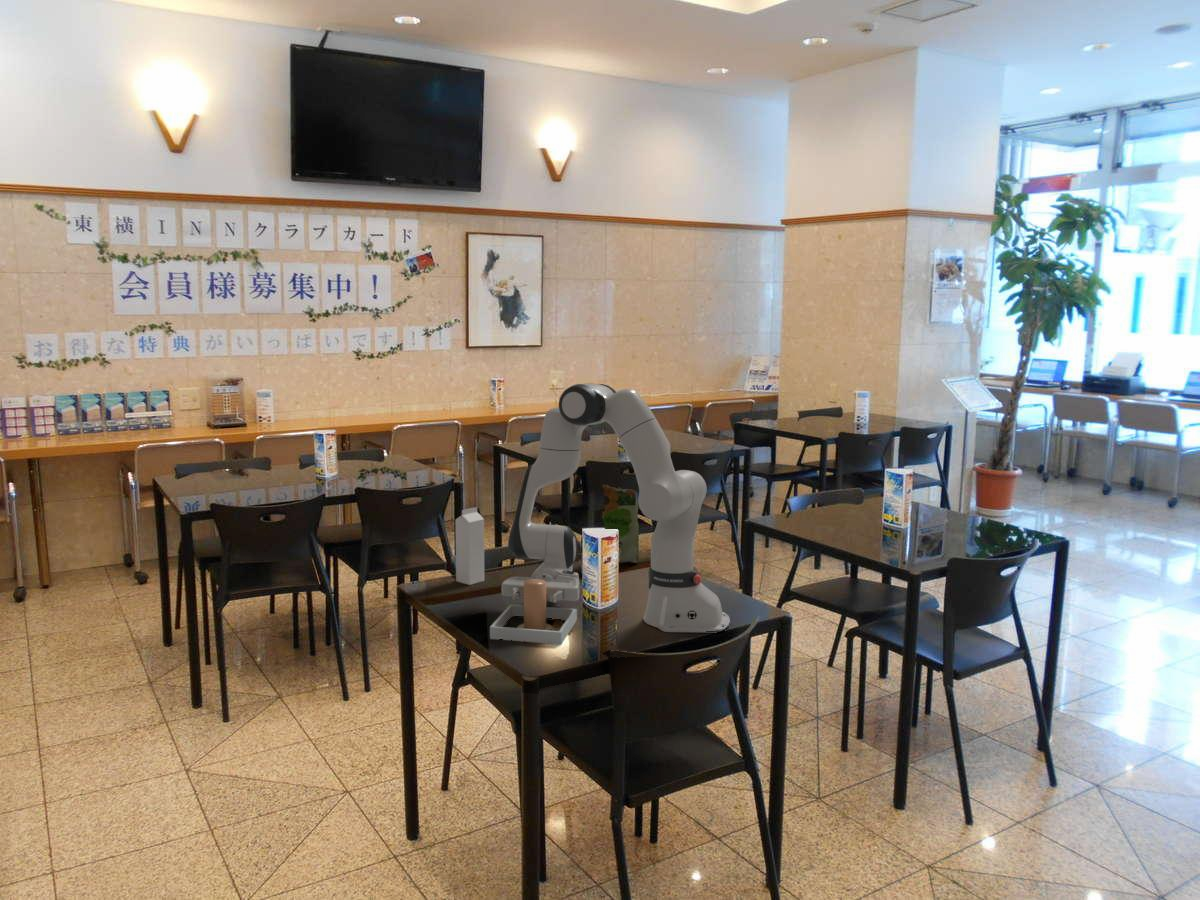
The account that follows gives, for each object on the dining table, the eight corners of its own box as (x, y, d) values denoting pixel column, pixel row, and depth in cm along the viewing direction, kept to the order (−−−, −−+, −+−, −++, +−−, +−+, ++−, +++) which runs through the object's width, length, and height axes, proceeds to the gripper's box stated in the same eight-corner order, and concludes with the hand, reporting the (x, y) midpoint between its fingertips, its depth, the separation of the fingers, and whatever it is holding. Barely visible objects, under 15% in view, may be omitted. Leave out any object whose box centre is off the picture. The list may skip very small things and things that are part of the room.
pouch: (639, 567, 291) (640, 489, 287) (601, 567, 291) (602, 489, 287) (637, 557, 302) (638, 482, 298) (600, 557, 302) (601, 482, 298)
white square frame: (576, 620, 242) (576, 609, 241) (561, 644, 224) (561, 632, 224) (510, 615, 245) (510, 604, 244) (489, 638, 227) (489, 627, 227)
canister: (548, 625, 237) (548, 579, 235) (543, 632, 231) (543, 586, 229) (527, 623, 238) (527, 578, 236) (521, 631, 232) (521, 584, 230)
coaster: (556, 624, 238) (556, 623, 238) (547, 636, 229) (547, 635, 229) (522, 622, 240) (522, 620, 240) (512, 633, 231) (512, 632, 231)
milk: (484, 581, 275) (484, 508, 272) (469, 585, 270) (469, 511, 267) (470, 576, 279) (470, 505, 275) (455, 581, 274) (455, 508, 271)
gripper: (509, 568, 247) (493, 583, 234) (584, 573, 243) (573, 588, 230) (509, 591, 248) (494, 607, 235) (584, 596, 244) (572, 613, 231)
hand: (533, 598), depth 232 cm, fingers open, 8 cm apart
